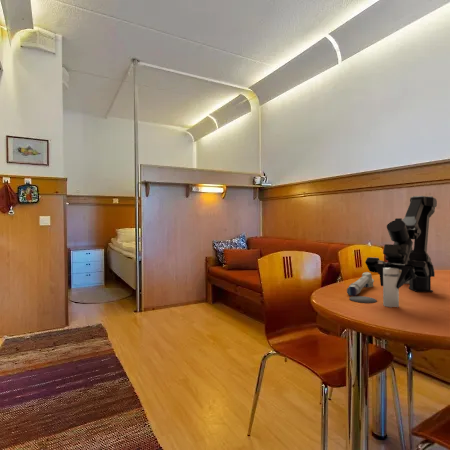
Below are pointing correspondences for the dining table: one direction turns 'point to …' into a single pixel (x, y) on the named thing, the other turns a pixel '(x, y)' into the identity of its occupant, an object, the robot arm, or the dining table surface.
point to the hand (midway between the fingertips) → (389, 286)
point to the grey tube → (360, 284)
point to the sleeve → (390, 287)
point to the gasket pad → (362, 299)
